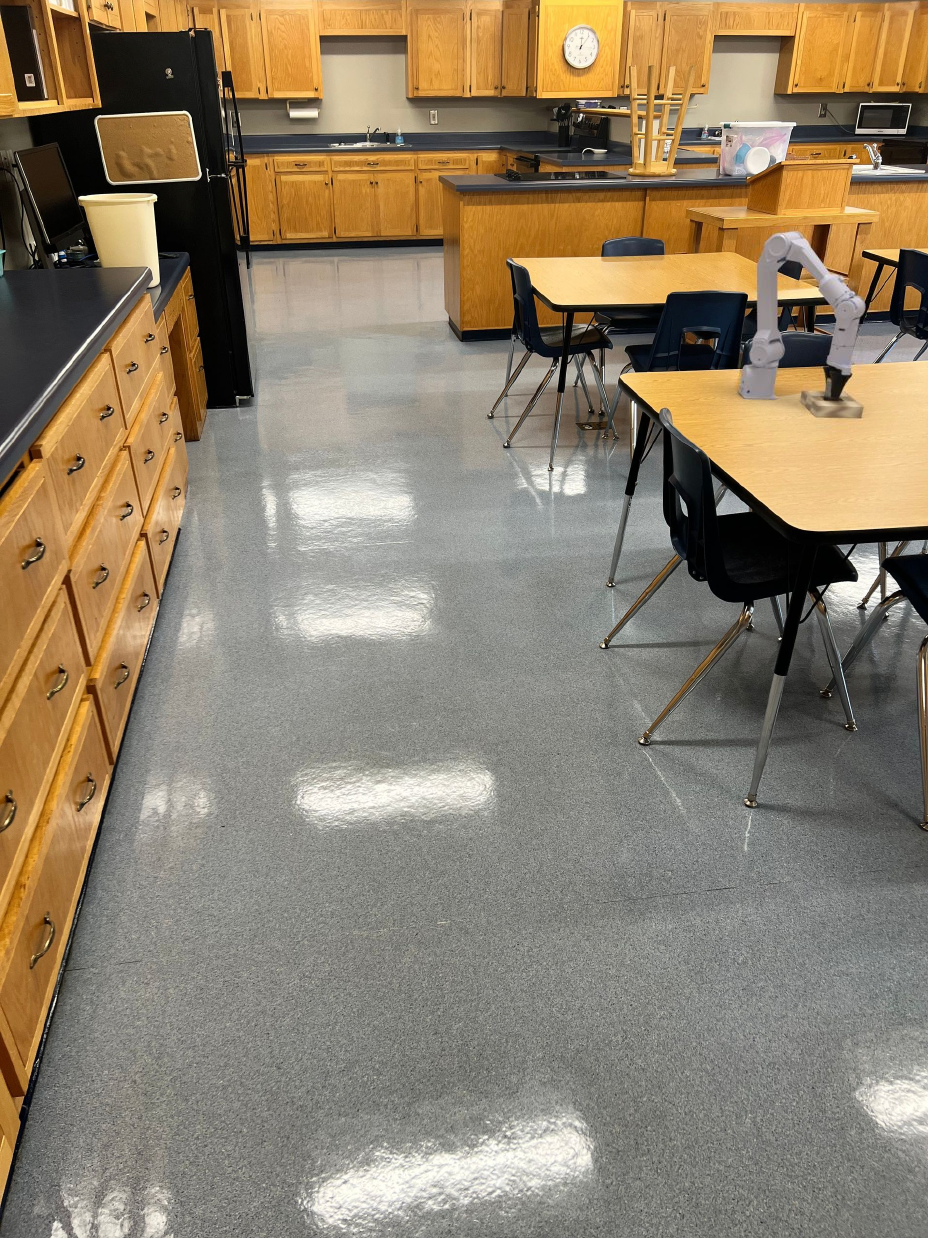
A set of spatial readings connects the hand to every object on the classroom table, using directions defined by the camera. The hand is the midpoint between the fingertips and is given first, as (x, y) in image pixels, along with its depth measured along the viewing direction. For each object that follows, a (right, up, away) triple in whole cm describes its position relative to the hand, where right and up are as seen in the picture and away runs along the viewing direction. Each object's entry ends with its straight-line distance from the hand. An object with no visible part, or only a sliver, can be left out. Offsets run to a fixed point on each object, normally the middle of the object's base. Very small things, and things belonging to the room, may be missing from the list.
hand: (832, 395), depth 247 cm
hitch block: (0, -3, +2) cm, 4 cm away
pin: (0, -2, +1) cm, 3 cm away
